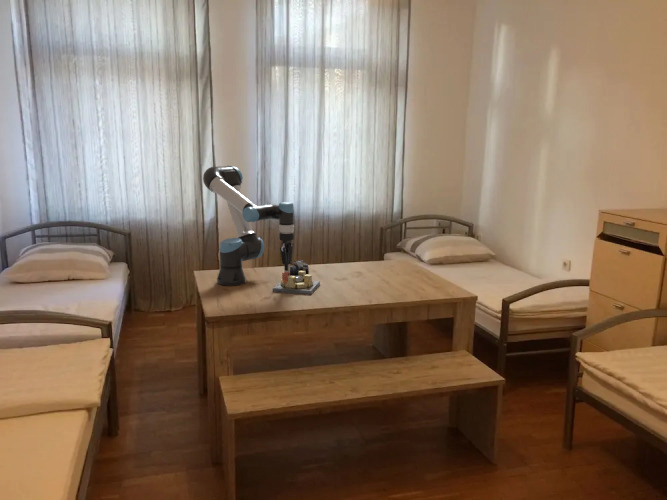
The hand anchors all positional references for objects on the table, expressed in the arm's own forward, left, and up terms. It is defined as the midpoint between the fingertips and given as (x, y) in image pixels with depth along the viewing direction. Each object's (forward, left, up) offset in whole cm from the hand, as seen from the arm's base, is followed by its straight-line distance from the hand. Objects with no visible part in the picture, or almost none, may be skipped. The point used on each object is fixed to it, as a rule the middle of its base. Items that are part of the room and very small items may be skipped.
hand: (287, 276), depth 303 cm
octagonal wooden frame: (+6, -2, -3) cm, 7 cm away
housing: (+6, -2, -6) cm, 9 cm away
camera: (0, +19, -6) cm, 20 cm away
